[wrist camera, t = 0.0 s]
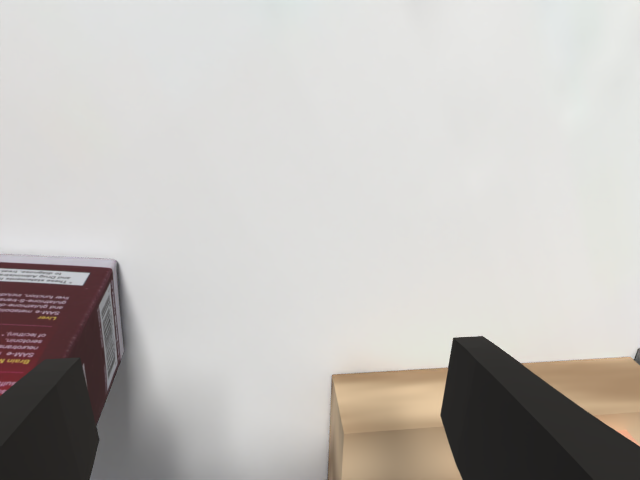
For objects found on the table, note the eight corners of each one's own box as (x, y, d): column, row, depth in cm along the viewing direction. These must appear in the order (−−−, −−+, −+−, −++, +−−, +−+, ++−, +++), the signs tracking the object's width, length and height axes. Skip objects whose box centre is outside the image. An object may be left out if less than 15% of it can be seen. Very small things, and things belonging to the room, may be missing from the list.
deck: (576, 505, 29) (615, 566, 26) (325, 530, 27) (334, 598, 24) (630, 356, 24) (686, 408, 21) (332, 374, 22) (344, 433, 19)
